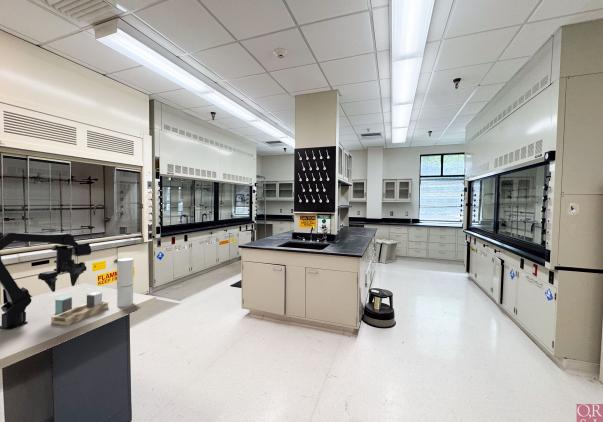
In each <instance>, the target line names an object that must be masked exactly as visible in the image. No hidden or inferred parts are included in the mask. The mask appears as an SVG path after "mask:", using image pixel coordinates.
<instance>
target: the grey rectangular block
mask: <svg viewBox="0 0 603 422" xmlns="http://www.w3.org/2000/svg"><path fill="white" fill-rule="evenodd" d="M102 302H103V292H99V291H93V292H91V293H88V294H86V303H87V308H92V307H95V306H97V305H100V304H102Z"/></svg>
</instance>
